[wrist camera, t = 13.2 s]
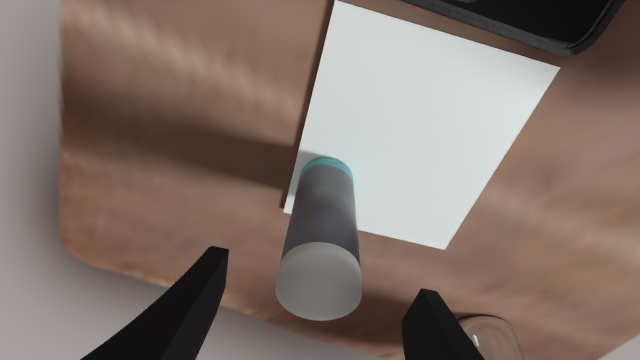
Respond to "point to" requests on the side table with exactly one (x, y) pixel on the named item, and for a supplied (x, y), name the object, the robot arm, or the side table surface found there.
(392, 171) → the paper
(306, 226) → the grey cylinder
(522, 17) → the phone
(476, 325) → the beer glass
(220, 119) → the side table surface
